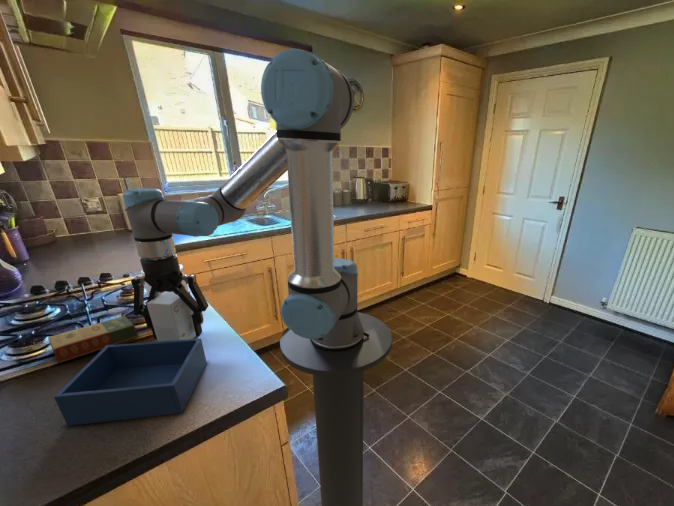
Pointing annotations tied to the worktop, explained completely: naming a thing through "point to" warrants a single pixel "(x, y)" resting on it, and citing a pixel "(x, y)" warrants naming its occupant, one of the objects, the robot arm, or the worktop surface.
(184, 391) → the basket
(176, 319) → the small box
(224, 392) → the worktop surface
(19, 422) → the worktop surface
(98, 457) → the worktop surface
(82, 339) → the carton
